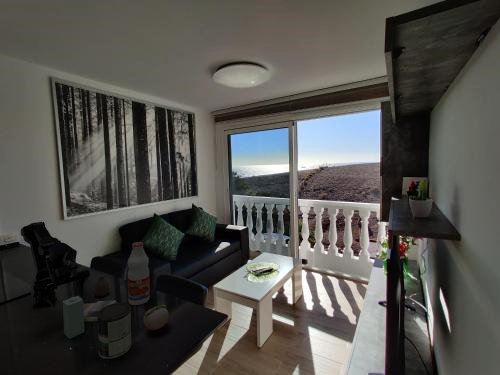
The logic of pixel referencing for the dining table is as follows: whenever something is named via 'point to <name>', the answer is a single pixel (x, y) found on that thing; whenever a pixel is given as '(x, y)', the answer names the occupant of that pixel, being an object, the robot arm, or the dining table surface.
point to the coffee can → (114, 330)
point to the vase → (101, 287)
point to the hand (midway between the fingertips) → (68, 301)
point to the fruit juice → (138, 275)
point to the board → (86, 308)
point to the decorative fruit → (156, 317)
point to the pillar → (73, 317)
